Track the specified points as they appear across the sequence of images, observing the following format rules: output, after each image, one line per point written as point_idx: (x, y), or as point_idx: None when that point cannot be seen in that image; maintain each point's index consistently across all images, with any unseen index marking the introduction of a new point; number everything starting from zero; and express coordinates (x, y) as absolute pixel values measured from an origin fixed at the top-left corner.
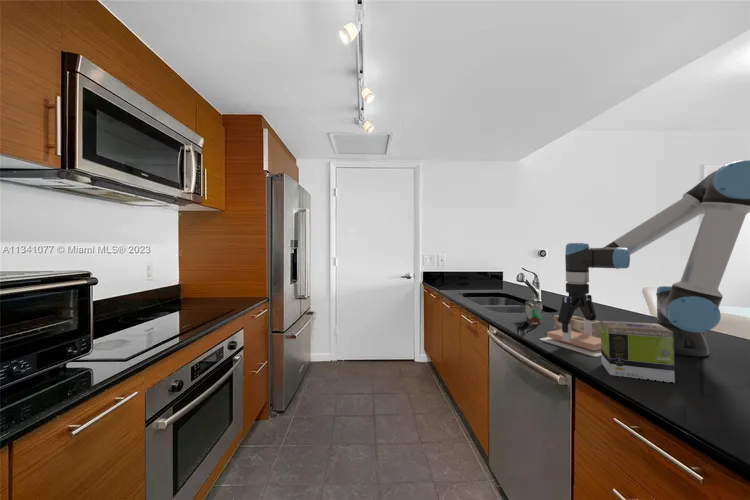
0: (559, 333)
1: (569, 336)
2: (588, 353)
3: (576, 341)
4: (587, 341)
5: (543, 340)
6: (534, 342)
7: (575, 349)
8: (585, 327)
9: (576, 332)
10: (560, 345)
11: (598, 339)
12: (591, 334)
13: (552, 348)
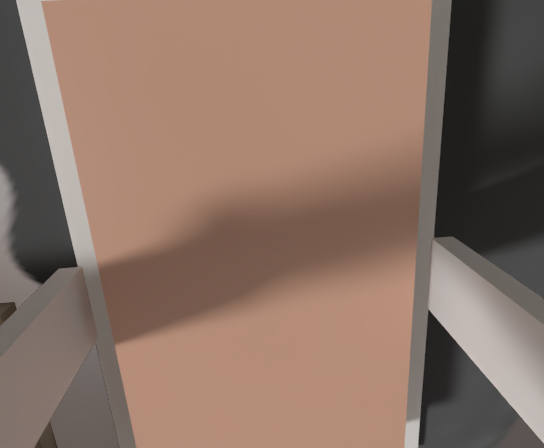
0: (344, 424)
1: (485, 260)
2: (447, 22)
3: (411, 201)
4: (366, 112)
5: (417, 423)
6: (502, 416)
7: (438, 157)
8: (49, 389)
9: (136, 400)
10: (427, 290)
11: (151, 116)
12: (52, 283)
13: (531, 272)
